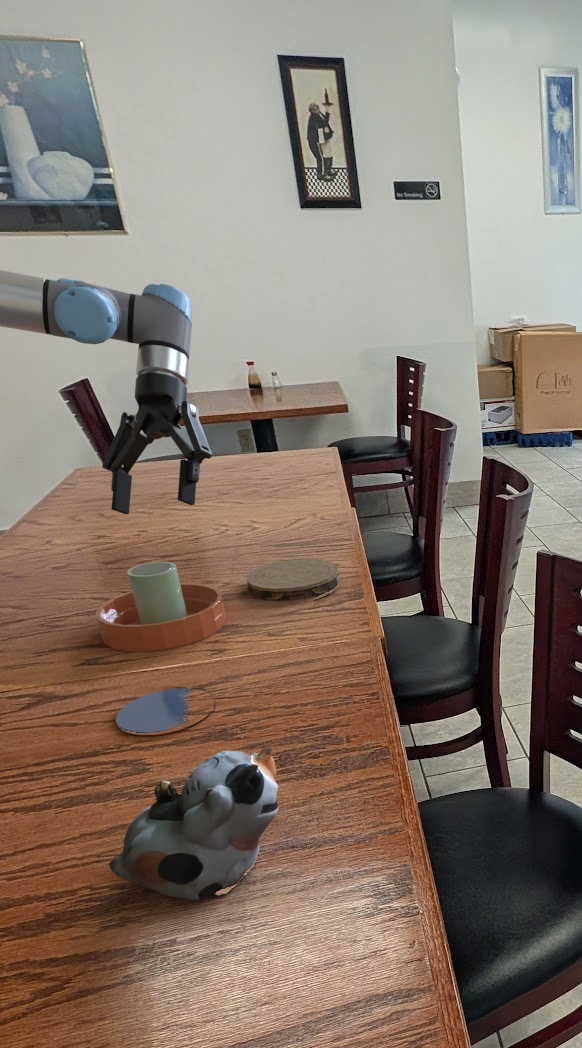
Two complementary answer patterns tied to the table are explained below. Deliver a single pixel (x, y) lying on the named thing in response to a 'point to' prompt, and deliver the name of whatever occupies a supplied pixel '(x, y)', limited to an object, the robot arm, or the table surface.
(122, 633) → the bowl
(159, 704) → the coaster
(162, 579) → the cup
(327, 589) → the wood slice
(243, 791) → the lucky cat figurine
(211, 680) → the table surface
